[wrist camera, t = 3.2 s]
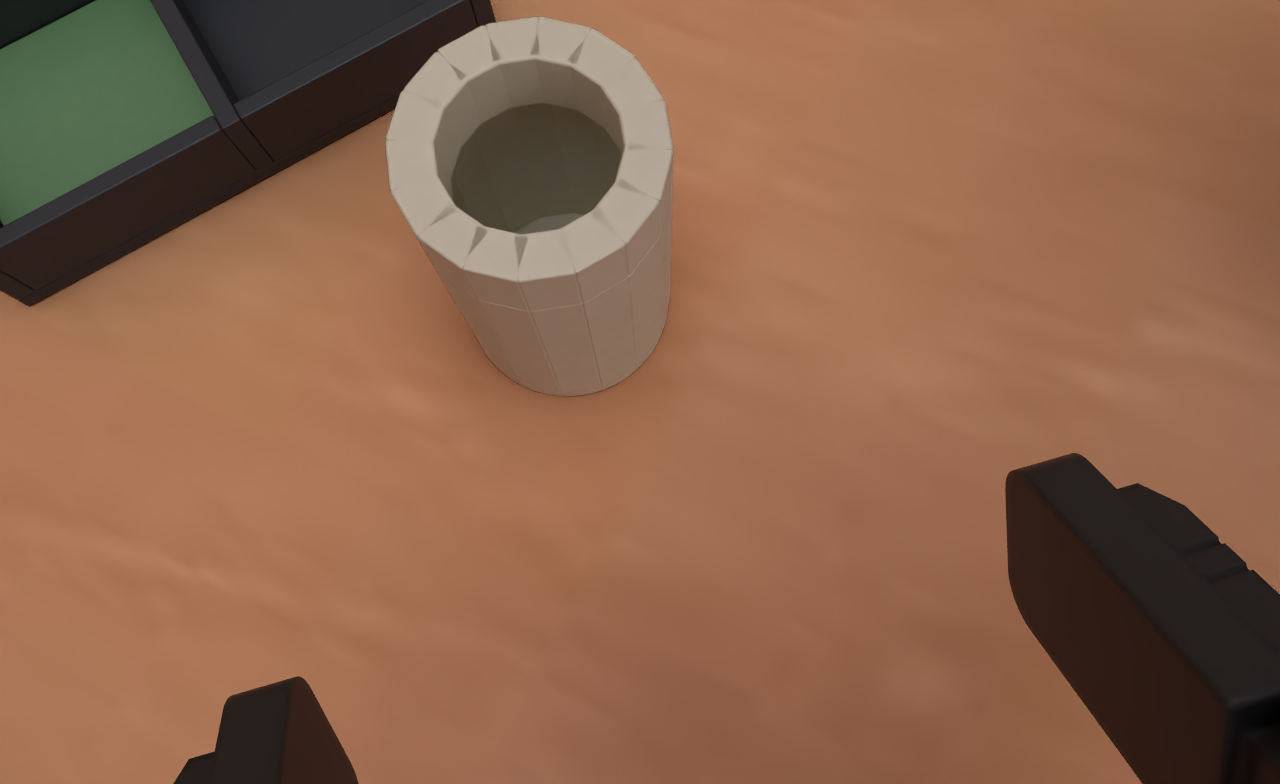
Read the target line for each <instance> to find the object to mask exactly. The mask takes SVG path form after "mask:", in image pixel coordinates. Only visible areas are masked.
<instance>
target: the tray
mask: <svg viewBox="0 0 1280 784" xmlns="http://www.w3.org/2000/svg"><path fill="white" fill-rule="evenodd" d="M495 22H496V21H495V17H494V13H493V10H492V6H491V2H490V0H0V291H2V292H4V293H6V294H8V295H9V296H11V297H13V298H15V299H17V300H19V301H20V302H22V303H24V304H26V305H28V306H31V305H33V304H35V303H37V302H39V301H41V300H42V299H44V298H46V297H48V296H50V295H52V294H54V293H55V292H57V291H59V290H61V289H63V288H65V287H66V286H68V285H70V284H72V283H74V282H76V281H78V280H79V279H81V278H83V277H85V276H87V275H89V274H90V273H92V272H94V271H96V270H98V269H100V268H101V267H103V266H105V265H107V264H109V263H111V262H113V261H114V260H116V259H118V258H120V257H122V256H124V255H125V254H127V253H129V252H131V251H133V250H135V249H136V248H138V247H140V246H142V245H144V244H146V243H148V242H149V241H151V240H153V239H155V238H157V237H159V236H160V235H162V234H164V233H166V232H168V231H170V230H171V229H173V228H175V227H177V226H179V225H181V224H183V223H184V222H186V221H188V220H190V219H192V218H194V217H195V216H197V215H199V214H201V213H203V212H205V211H207V210H208V209H210V208H212V207H214V206H216V205H218V204H219V203H221V202H223V201H225V200H227V199H229V198H230V197H232V196H234V195H236V194H238V193H240V192H242V191H243V190H245V189H247V188H249V187H251V186H253V185H254V184H256V183H258V182H260V181H262V180H264V179H265V178H267V177H269V176H271V175H273V174H275V173H277V172H278V171H280V170H282V169H284V168H286V167H288V166H289V165H291V164H293V163H295V162H297V161H299V160H301V159H302V158H304V157H306V156H308V155H310V154H312V153H313V152H315V151H317V150H319V149H321V148H323V147H324V146H326V145H328V144H330V143H332V142H334V141H336V140H337V139H339V138H341V137H343V136H345V135H347V134H348V133H350V132H352V131H354V130H356V129H358V128H359V127H361V126H363V125H365V124H367V123H369V122H371V121H372V120H374V119H376V118H378V117H380V116H382V115H383V114H385V113H387V112H389V111H391V110H393V109H395V108H396V105H397V102H398V99H399V96H400V93H401V92H402V91H403V90H404V88H405V86H406V85H407V84H408V83H409V82H410V80H411V79H412V78H413V77H414V76H415V75H416V74H417V72H418V71H419V70H420V69H421V68H422V67H423V65H424V64H425V63H426V62H427V61H428V60H429V58H430V57H431V56H432V55H433V54H434V53H435V52H438V49H439V48H441V47H443V46H445V45H447V44H448V43H450V42H452V41H454V40H456V39H458V38H460V37H461V36H463V35H465V34H467V33H469V32H471V31H473V30H474V29H476V28H478V27H480V26H483V25H484V26H486V24H488V23H495Z"/></svg>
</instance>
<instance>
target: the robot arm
mask: <svg viewBox="0 0 1280 784" xmlns="http://www.w3.org/2000/svg"><path fill="white" fill-rule="evenodd" d="M1005 490H1006V519H1007V549H1008V573H1009V580H1010V585H1011V589H1012V593H1013V596H1014V599H1015V601H1016V604H1017V606H1018V609H1019V611H1020V613H1021V615H1022V617H1023V619H1024V621H1025V622H1026V624H1027V626H1028V627H1029V629H1030V630H1031V631H1032V633H1033V634H1034V636H1035V637H1036V638H1037V640H1038V641H1039V642H1040V644H1041V645H1042V646H1043V648H1044V649H1045V651H1046V652H1047V653H1048V655H1049V656H1050V657H1051V659H1052V660H1053V662H1054V663H1055V664H1056V666H1057V667H1058V668H1059V670H1060V671H1061V672H1062V674H1063V675H1064V677H1065V678H1066V679H1067V681H1068V682H1069V683H1070V685H1071V686H1072V688H1073V689H1074V690H1075V692H1076V693H1077V694H1078V696H1079V697H1080V699H1081V700H1082V701H1083V703H1084V704H1085V705H1086V707H1087V708H1088V709H1089V711H1090V712H1091V714H1092V715H1093V716H1094V718H1095V719H1096V720H1097V722H1098V723H1099V725H1100V726H1101V727H1102V729H1103V730H1104V731H1105V733H1106V734H1107V735H1108V737H1109V738H1110V740H1111V741H1112V742H1113V744H1114V745H1115V746H1116V748H1117V749H1118V751H1119V752H1120V753H1121V755H1122V756H1123V757H1124V759H1125V760H1126V762H1127V763H1128V764H1129V766H1130V767H1131V768H1132V770H1133V771H1134V772H1135V774H1136V775H1137V777H1138V778H1139V779H1140V781H1141V782H1142V783H1143V784H1280V594H1278V593H1277V592H1276V591H1275V590H1274V589H1273V588H1272V587H1271V586H1270V585H1269V584H1268V583H1267V582H1266V581H1265V580H1263V579H1262V578H1261V577H1260V576H1259V575H1258V574H1257V573H1256V572H1255V571H1254V570H1251V571H1249V570H1248V568H1247V566H1246V563H1245V562H1244V561H1243V560H1242V559H1241V558H1240V557H1239V556H1238V555H1237V554H1236V553H1235V552H1234V551H1233V550H1231V549H1230V548H1229V547H1228V546H1227V545H1226V544H1225V543H1224V544H1221V543H1220V542H1219V540H1218V536H1217V535H1215V534H1214V533H1213V532H1212V531H1211V530H1210V529H1209V528H1208V527H1207V526H1206V525H1205V524H1204V523H1203V522H1202V521H1201V520H1199V519H1198V518H1197V517H1196V516H1195V515H1194V514H1193V513H1192V512H1191V511H1190V510H1189V509H1188V508H1187V507H1186V506H1185V505H1182V504H1180V503H1178V502H1176V501H1174V500H1172V499H1170V498H1168V497H1166V496H1163V495H1161V494H1159V493H1157V492H1155V491H1153V490H1151V489H1149V488H1147V487H1144V486H1142V485H1140V484H1138V483H1136V484H1133V485H1130V486H1126V487H1123V488H1119V489H1116V488H1115V487H1114V486H1113V485H1112V484H1111V483H1110V482H1109V481H1108V480H1107V479H1106V478H1105V477H1104V476H1103V475H1102V474H1101V473H1100V472H1099V471H1098V470H1097V469H1096V468H1095V467H1094V466H1093V465H1092V464H1091V463H1090V462H1089V461H1088V460H1087V459H1086V458H1085V457H1083V456H1081V455H1080V454H1077V453H1071V454H1068V455H1065V456H1061V457H1058V458H1054V459H1051V460H1047V461H1044V462H1041V463H1037V464H1034V465H1030V466H1027V467H1023V468H1020V469H1016V470H1013V471H1011V472H1009V474H1008V475H1007V478H1006V488H1005ZM174 784H358V780H357V777H356V774H355V772H354V769H353V767H352V765H351V762H350V761H349V759H348V757H347V755H346V753H345V751H344V749H343V747H342V746H341V744H340V742H339V740H338V738H337V736H336V734H335V732H334V731H333V729H332V727H331V725H330V723H329V721H328V719H327V718H326V716H325V714H324V712H323V710H322V708H321V706H320V704H319V703H318V701H317V699H316V697H315V695H314V693H313V691H312V689H311V688H310V686H309V684H308V683H307V682H306V681H305V680H304V679H303V678H302V677H294V678H290V679H287V680H283V681H280V682H277V683H273V684H270V685H266V686H263V687H259V688H256V689H253V690H249V691H246V692H242V693H239V694H235V695H232V696H230V697H229V698H228V699H227V701H226V703H225V705H224V709H223V713H222V718H221V723H220V728H219V733H218V738H217V743H216V748H215V752H212V753H208V754H205V755H201V756H198V757H195V758H191V759H189V760H188V762H187V763H186V765H185V766H184V768H183V769H182V771H181V773H180V774H179V776H178V777H177V779H176V781H175V782H174Z"/></svg>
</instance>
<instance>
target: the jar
mask: <svg viewBox="0 0 1280 784" xmlns="http://www.w3.org/2000/svg"><path fill="white" fill-rule="evenodd" d="M385 148H386V158H387V168H388V178H389V187H390V191H391V195H392V197H393V198H394V200H395V202H396V204H397V205H398V207H399V209H400V210H401V212H402V214H403V215H404V217H405V219H406V220H407V222H408V224H409V226H410V227H411V229H412V231H413V232H414V234H415V236H416V237H417V239H418V241H419V242H420V244H421V246H422V247H423V249H424V251H425V253H426V254H427V256H428V258H429V259H430V261H431V263H432V264H433V266H434V268H435V269H436V271H437V273H438V274H439V276H440V278H441V279H442V281H443V283H444V285H445V286H446V288H447V290H448V291H449V293H450V295H451V296H452V298H453V300H454V301H455V303H456V305H457V306H458V308H459V310H460V311H461V313H462V315H463V316H464V318H465V320H466V322H467V323H468V325H469V327H470V328H471V330H472V332H473V333H474V335H475V337H476V338H477V340H478V342H479V343H480V345H481V347H482V348H483V350H484V352H485V353H486V355H487V357H488V359H489V360H490V361H491V362H492V363H494V364H495V366H496V367H497V368H498V369H499V370H500V371H502V372H503V373H504V374H505V375H506V376H508V377H509V378H510V379H512V380H513V381H515V382H517V383H518V384H520V385H522V386H524V387H527V388H529V389H531V390H534V391H537V392H540V393H544V394H550V395H555V396H578V395H586V394H590V393H595V392H598V391H601V390H604V389H607V388H609V387H611V386H613V385H615V384H617V383H619V382H621V381H622V380H624V379H625V378H627V377H628V376H630V375H631V374H632V373H633V372H634V371H636V370H637V369H638V368H639V367H640V366H641V365H642V364H643V363H644V362H645V360H646V359H647V358H648V357H649V356H650V354H651V353H652V351H653V350H654V348H655V347H656V345H657V343H658V341H659V339H660V337H661V335H662V332H663V329H664V325H665V322H666V317H667V311H668V305H669V301H670V278H671V238H672V198H673V142H672V136H671V130H670V124H669V119H668V113H667V107H666V103H665V102H664V99H663V96H662V94H661V93H660V92H659V90H658V89H657V87H656V86H655V84H654V83H653V81H652V80H651V78H650V77H649V75H648V74H647V72H646V71H645V69H644V68H643V66H642V65H641V63H640V62H639V60H637V59H636V58H635V56H634V55H633V54H632V53H630V52H629V51H627V50H626V49H624V48H623V47H621V46H620V45H618V44H617V43H615V42H614V41H612V40H610V39H609V38H607V37H606V36H604V35H603V34H601V33H600V32H598V31H597V30H595V29H593V28H592V29H591V28H590V27H587V26H583V25H578V24H573V23H568V22H564V21H559V20H554V19H550V18H545V17H539V19H538V17H530V18H523V19H516V20H509V21H502V22H495V23H488V24H486V26H484V25H483V26H480V27H478V28H476V29H474V30H473V31H471V32H469V33H467V34H465V35H463V36H461V37H460V38H458V39H456V40H454V41H452V42H450V43H448V44H447V45H445V46H443V47H441V48H439V49H438V52H435V53H434V54H433V55H432V56H431V57H430V58H429V60H428V61H427V62H426V63H425V64H424V65H423V67H422V68H421V69H420V70H419V71H418V72H417V74H416V75H415V76H414V77H413V78H412V79H411V80H410V82H409V83H408V84H407V85H406V86H405V88H404V90H403V91H402V92H401V93H400V96H399V99H398V102H397V105H396V108H395V111H394V114H393V117H392V120H391V123H390V126H389V129H388V132H387V135H386V142H385Z"/></svg>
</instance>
